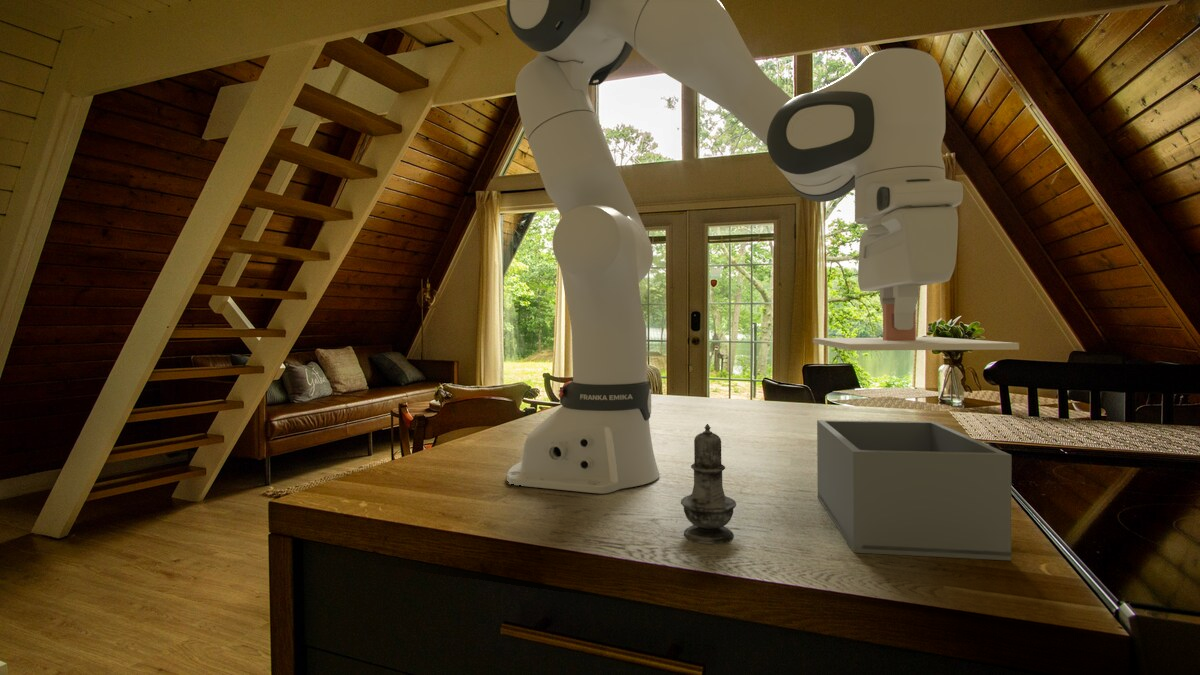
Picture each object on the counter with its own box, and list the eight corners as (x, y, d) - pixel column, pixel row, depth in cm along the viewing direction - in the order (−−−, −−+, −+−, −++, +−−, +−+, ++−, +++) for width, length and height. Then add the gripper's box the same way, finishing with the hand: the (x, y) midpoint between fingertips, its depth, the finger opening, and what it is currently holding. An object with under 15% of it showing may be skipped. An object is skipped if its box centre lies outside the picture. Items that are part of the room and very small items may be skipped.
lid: (849, 350, 56) (849, 303, 56) (812, 342, 75) (812, 307, 75) (1019, 349, 54) (1019, 299, 54) (937, 341, 72) (937, 304, 72)
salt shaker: (725, 549, 58) (724, 430, 58) (672, 538, 62) (670, 426, 61) (744, 531, 63) (743, 421, 63) (693, 521, 67) (692, 417, 66)
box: (853, 552, 57) (853, 451, 57) (817, 497, 75) (817, 420, 75) (1011, 560, 55) (1011, 455, 54) (935, 501, 72) (935, 421, 72)
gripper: (845, 220, 75) (845, 328, 75) (898, 184, 54) (898, 331, 55) (897, 218, 73) (897, 327, 74) (972, 180, 53) (971, 331, 54)
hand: (898, 329), depth 64 cm, fingers closed on lid
